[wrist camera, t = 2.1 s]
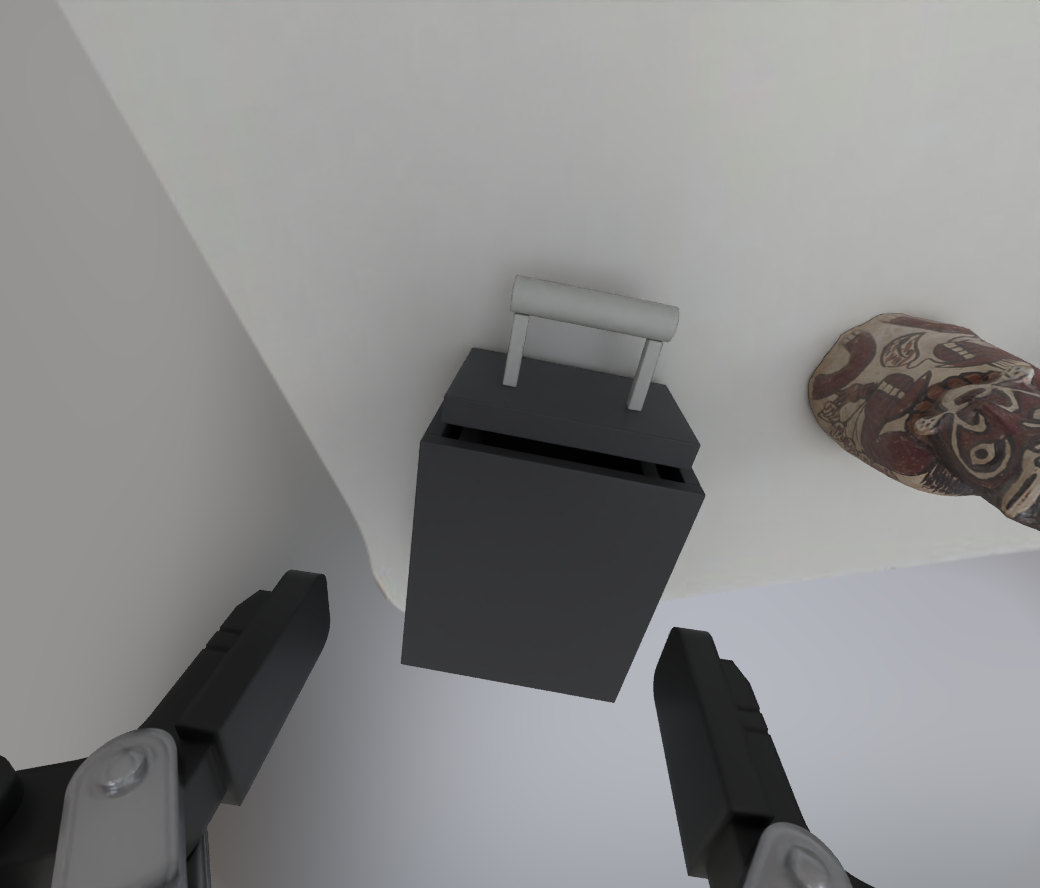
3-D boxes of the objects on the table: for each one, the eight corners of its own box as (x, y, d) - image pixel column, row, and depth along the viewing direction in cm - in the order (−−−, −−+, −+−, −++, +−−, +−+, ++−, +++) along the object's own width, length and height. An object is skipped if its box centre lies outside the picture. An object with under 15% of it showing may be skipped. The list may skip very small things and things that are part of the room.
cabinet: (460, 370, 26) (419, 440, 18) (663, 410, 26) (706, 495, 18) (437, 556, 32) (400, 664, 24) (601, 586, 32) (614, 703, 25)
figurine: (940, 281, 22) (1298, 359, 11) (976, 400, 24) (1298, 556, 14) (787, 363, 24) (966, 491, 14) (834, 464, 27) (1016, 640, 16)
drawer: (484, 254, 22) (457, 275, 16) (696, 296, 22) (746, 332, 16) (447, 534, 30) (419, 617, 24) (604, 564, 30) (615, 653, 24)
